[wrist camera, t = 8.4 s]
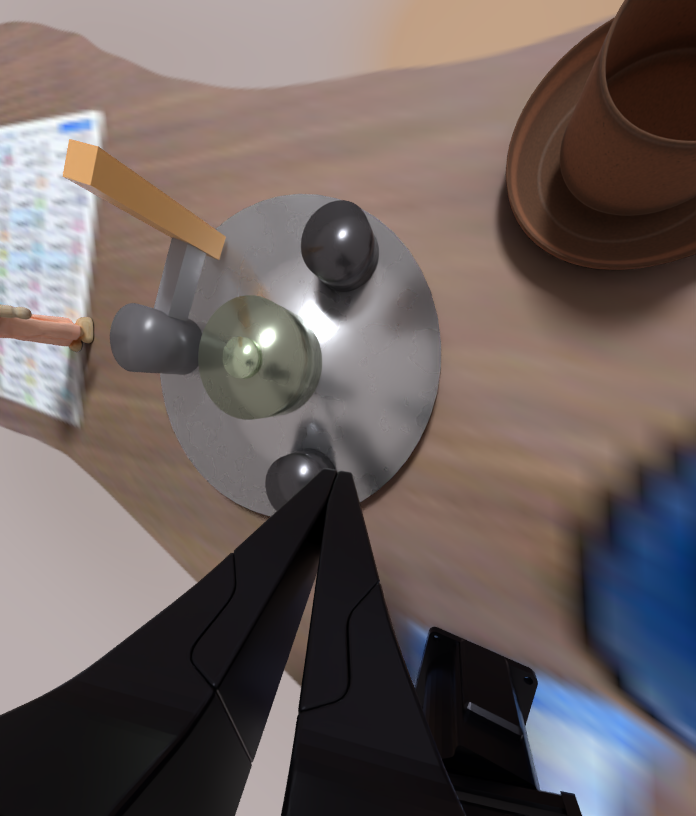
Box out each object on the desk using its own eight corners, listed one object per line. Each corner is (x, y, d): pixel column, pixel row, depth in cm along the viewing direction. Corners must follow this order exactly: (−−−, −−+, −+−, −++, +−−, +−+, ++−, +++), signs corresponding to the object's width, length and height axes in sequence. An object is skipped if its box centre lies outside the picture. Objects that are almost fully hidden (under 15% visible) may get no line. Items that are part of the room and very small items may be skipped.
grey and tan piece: (194, 383, 23) (66, 379, 15) (156, 362, 25) (19, 348, 17) (237, 240, 21) (113, 150, 13) (192, 225, 22) (55, 135, 15)
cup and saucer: (483, 115, 17) (502, -31, 11) (766, -22, 13) (1030, -363, 7) (519, 309, 17) (558, 265, 11) (815, 233, 13) (1123, 100, 7)
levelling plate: (401, 558, 20) (387, 609, 15) (160, 466, 27) (101, 482, 23) (479, 200, 17) (492, 126, 12) (186, 207, 24) (125, 163, 20)
